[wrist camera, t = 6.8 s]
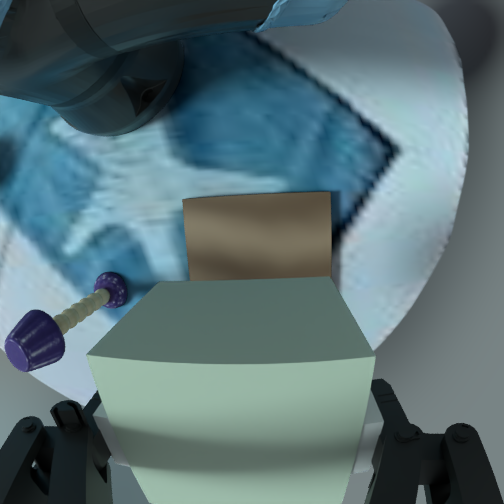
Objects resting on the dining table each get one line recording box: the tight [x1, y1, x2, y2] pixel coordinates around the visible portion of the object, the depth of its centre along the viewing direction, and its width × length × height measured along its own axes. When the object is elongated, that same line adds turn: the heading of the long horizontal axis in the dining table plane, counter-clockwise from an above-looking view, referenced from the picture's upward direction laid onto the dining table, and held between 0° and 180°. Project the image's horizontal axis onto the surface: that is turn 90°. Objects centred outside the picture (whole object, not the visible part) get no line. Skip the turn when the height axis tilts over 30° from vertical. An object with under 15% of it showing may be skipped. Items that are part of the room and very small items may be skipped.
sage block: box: [86, 276, 376, 504], centre depth 12 cm, size 8×8×7 cm
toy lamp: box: [5, 272, 127, 372], centre depth 25 cm, size 5×5×17 cm
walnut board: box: [182, 192, 331, 281], centre depth 31 cm, size 14×14×1 cm
